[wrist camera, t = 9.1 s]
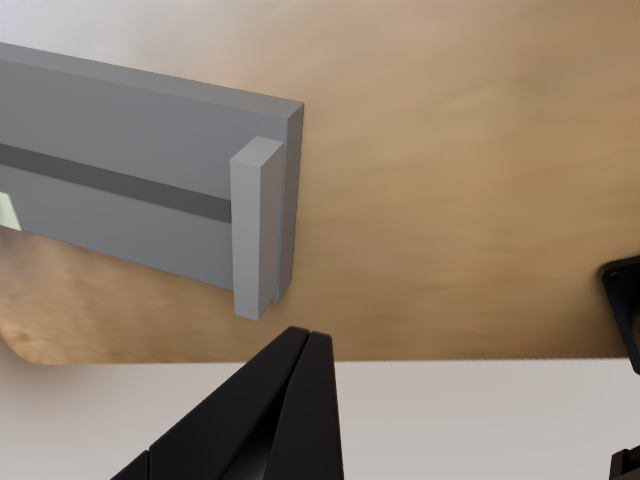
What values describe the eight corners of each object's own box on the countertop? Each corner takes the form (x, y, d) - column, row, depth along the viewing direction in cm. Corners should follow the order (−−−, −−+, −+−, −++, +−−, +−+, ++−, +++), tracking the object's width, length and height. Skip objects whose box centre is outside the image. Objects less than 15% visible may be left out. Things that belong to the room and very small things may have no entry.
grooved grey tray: (304, 102, 19) (263, 141, 16) (291, 280, 25) (259, 337, 21) (-102, 22, 23) (-207, 38, 20) (-31, 191, 29) (-101, 226, 25)
